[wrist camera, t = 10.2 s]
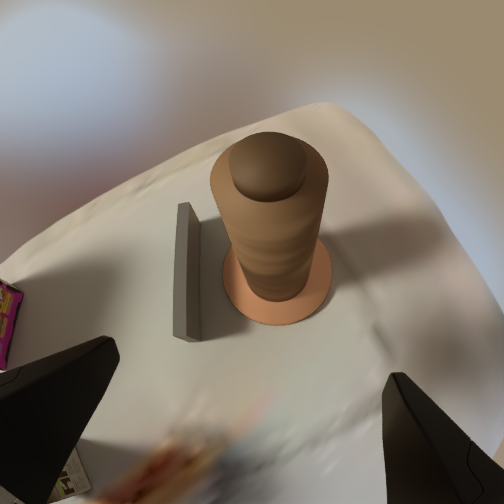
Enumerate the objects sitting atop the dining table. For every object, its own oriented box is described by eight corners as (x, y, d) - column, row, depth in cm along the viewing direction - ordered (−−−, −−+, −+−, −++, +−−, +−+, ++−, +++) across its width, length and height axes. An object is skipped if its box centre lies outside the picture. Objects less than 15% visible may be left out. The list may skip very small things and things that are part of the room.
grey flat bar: (200, 341, 21) (186, 335, 18) (188, 342, 22) (172, 336, 18) (200, 222, 26) (189, 202, 23) (190, 224, 26) (178, 203, 23)
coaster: (296, 346, 21) (296, 345, 20) (203, 289, 23) (201, 286, 23) (348, 254, 23) (350, 251, 23) (260, 209, 26) (260, 206, 25)
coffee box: (72, 433, 18) (-64, 433, 4) (93, 489, 16) (-30, 522, 1) (25, 435, 18) (-84, 425, 3) (42, 483, 15) (-62, 493, 1)
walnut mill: (266, 314, 21) (244, 235, 10) (233, 262, 23) (186, 150, 12) (321, 279, 22) (357, 170, 10) (285, 231, 24) (282, 106, 12)
